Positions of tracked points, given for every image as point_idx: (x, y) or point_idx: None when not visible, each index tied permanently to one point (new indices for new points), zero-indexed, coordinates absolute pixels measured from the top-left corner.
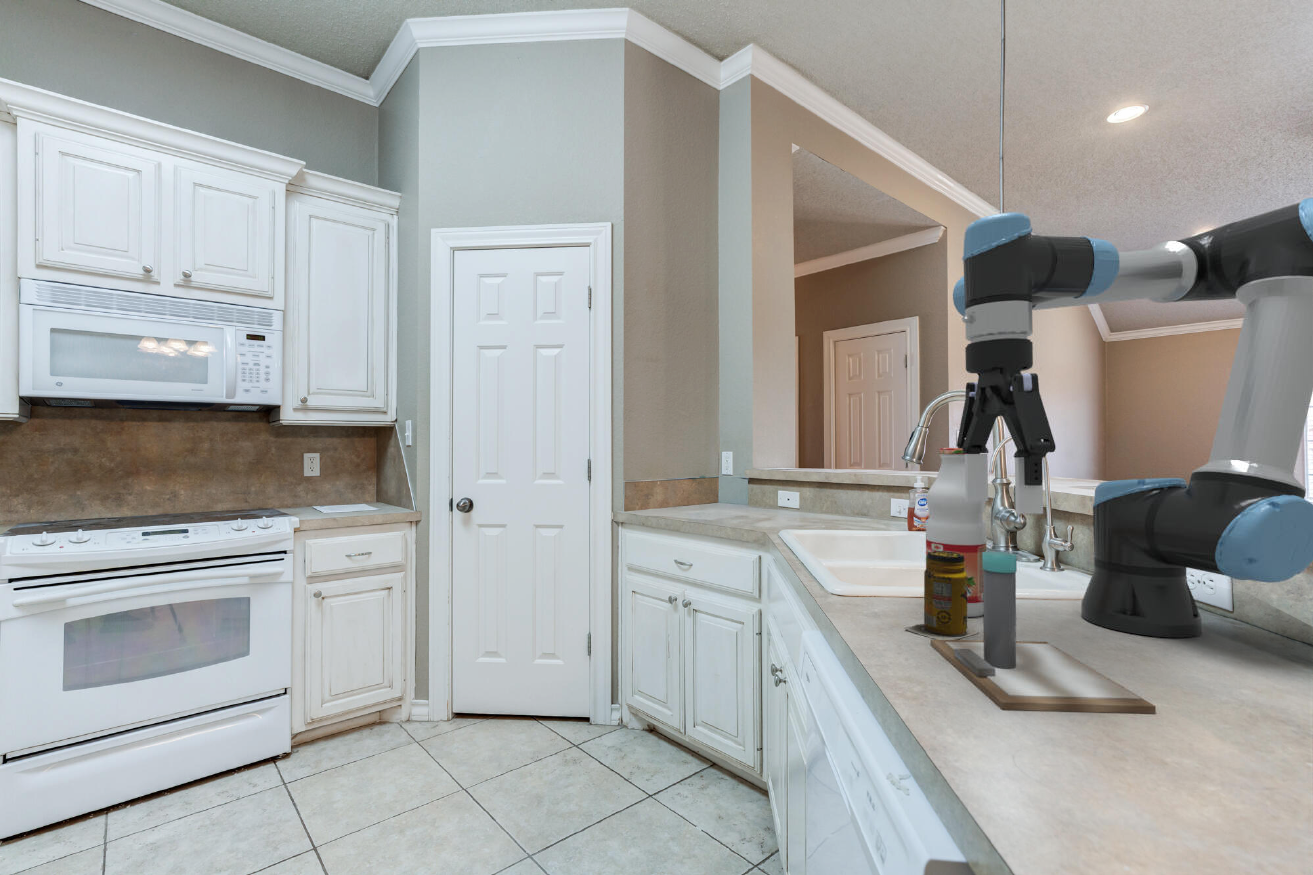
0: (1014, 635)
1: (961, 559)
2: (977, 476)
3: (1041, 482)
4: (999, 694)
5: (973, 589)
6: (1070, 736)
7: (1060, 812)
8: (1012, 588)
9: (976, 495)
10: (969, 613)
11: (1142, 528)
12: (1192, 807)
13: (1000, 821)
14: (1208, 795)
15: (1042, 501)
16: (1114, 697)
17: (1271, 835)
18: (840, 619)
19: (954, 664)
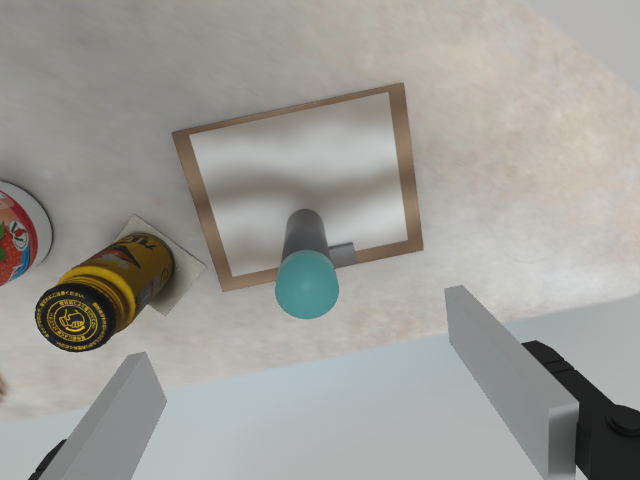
0: (318, 224)
1: (95, 293)
2: (120, 446)
3: (548, 348)
4: (402, 248)
5: (6, 218)
6: (472, 200)
7: (597, 249)
8: (326, 250)
9: (150, 393)
10: (43, 214)
11: None
12: (588, 148)
13: (608, 290)
14: (570, 124)
15: (478, 302)
16: (391, 124)
17: (624, 108)
18: None
19: None
